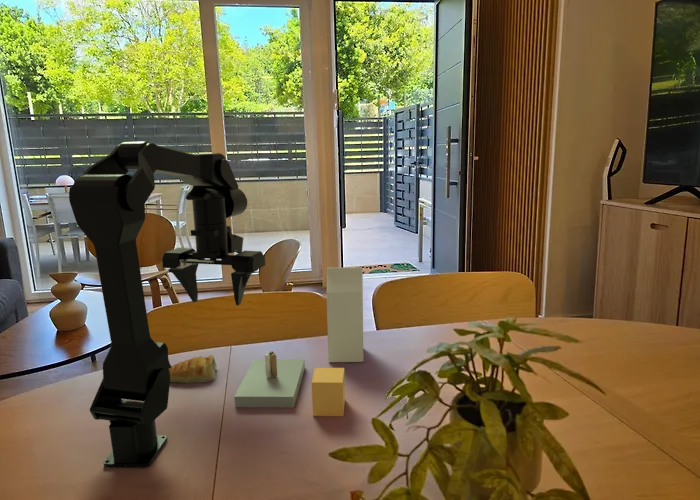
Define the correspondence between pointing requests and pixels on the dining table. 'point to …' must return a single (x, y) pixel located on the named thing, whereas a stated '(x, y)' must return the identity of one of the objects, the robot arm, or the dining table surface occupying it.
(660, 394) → the dining table surface
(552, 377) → the dining table surface
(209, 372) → the pastry
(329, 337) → the milk carton
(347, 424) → the dining table surface
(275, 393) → the pale green flat slab
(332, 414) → the small yellow upright block
